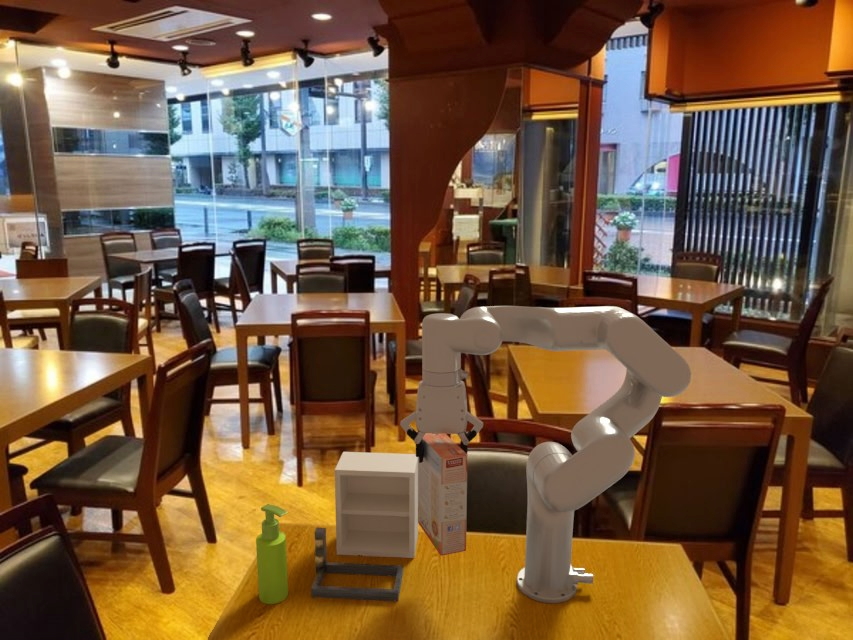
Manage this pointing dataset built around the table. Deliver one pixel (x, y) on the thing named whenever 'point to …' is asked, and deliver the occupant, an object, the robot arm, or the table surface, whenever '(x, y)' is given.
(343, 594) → the dark gray rectangular frame
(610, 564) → the table surface
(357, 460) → the cabinet
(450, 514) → the cracker box
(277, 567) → the soap dispenser
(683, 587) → the table surface
